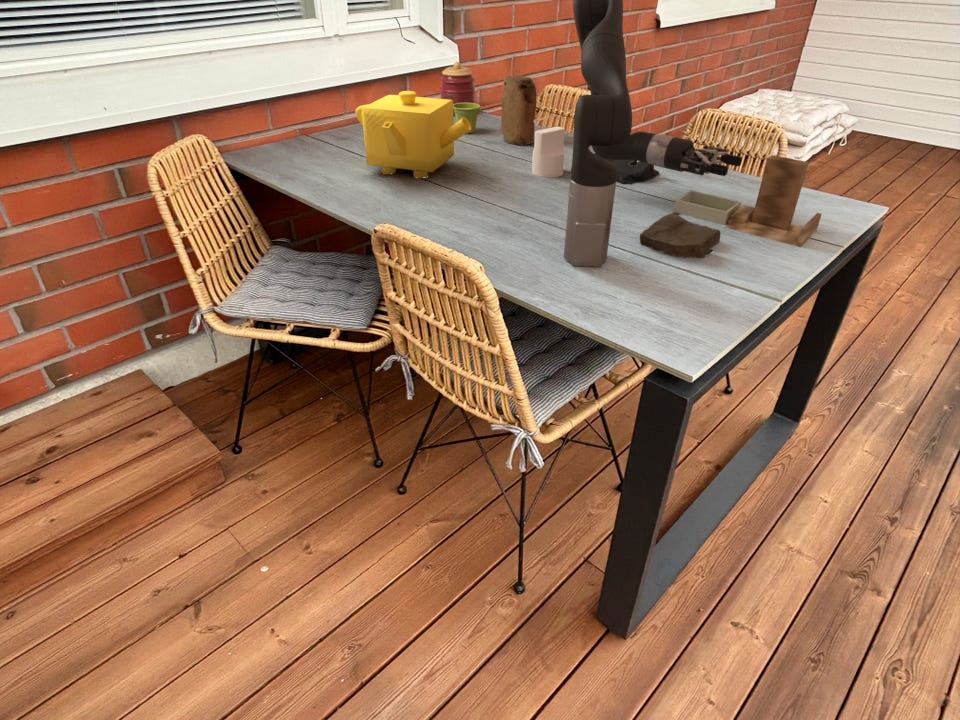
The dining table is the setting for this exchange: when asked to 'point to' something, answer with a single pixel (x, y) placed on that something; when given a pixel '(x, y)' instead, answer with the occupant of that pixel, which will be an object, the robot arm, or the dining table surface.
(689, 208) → the tray
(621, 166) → the dark slate chunk
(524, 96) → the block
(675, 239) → the brown irregular slab
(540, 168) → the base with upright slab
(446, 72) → the canister
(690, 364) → the dining table surface
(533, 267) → the dining table surface
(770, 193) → the board
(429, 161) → the cube teapot
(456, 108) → the plant pot
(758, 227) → the rack
